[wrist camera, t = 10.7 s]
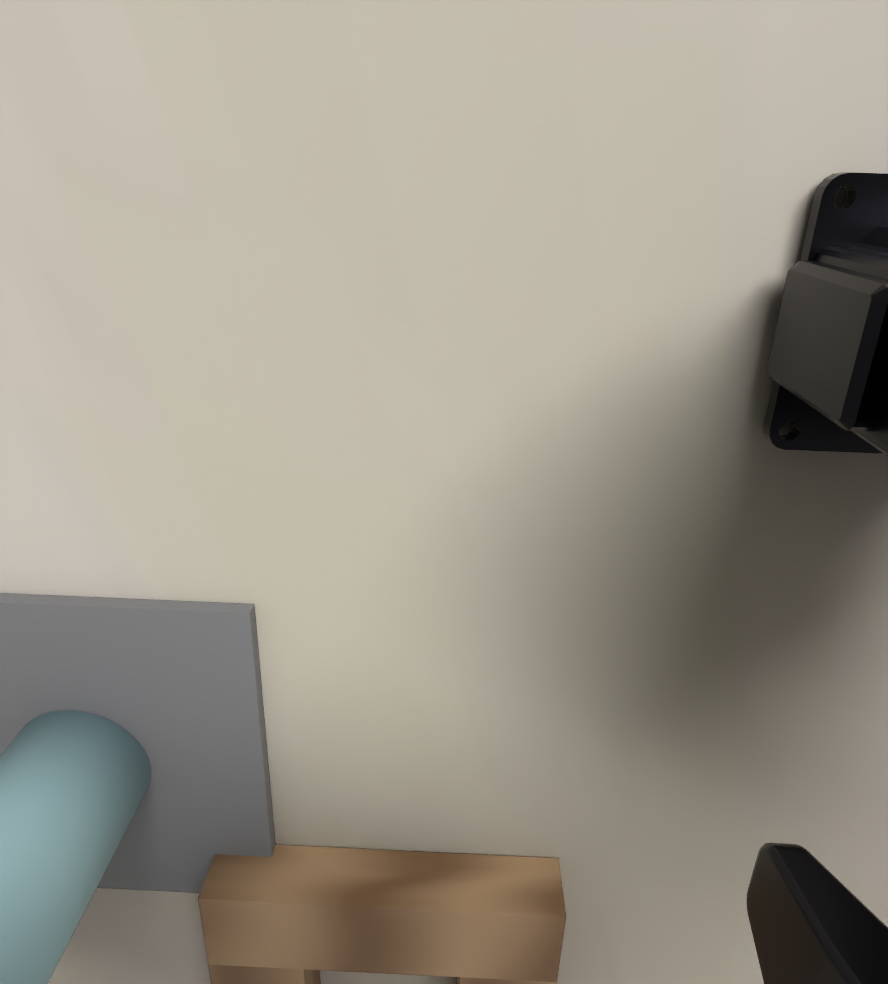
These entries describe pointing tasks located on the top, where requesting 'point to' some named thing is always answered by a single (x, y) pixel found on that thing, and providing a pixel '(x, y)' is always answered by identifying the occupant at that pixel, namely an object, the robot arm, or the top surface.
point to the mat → (154, 718)
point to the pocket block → (382, 916)
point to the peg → (60, 831)
